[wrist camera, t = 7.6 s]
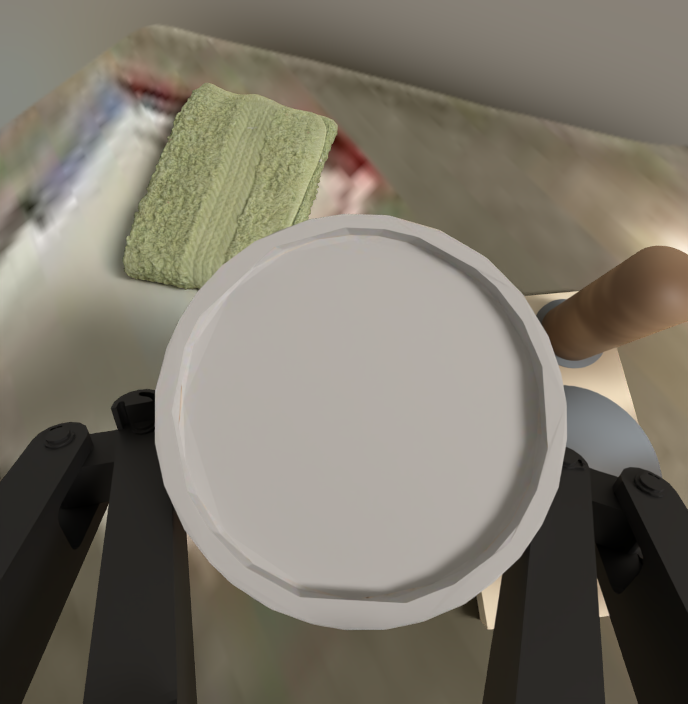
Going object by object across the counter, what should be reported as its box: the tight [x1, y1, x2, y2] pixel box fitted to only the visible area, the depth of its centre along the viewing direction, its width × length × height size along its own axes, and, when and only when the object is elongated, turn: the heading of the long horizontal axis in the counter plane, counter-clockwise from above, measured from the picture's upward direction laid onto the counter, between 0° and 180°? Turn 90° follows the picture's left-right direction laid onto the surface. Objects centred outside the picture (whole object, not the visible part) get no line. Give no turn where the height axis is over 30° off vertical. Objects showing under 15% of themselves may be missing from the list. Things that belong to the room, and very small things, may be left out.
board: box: [476, 291, 662, 629], centre depth 25 cm, size 20×12×1 cm, turn 5°
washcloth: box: [122, 83, 337, 290], centre depth 29 cm, size 13×18×3 cm
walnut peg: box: [541, 246, 688, 361], centre depth 22 cm, size 4×4×8 cm
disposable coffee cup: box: [155, 214, 567, 630], centre depth 14 cm, size 10×10×12 cm
